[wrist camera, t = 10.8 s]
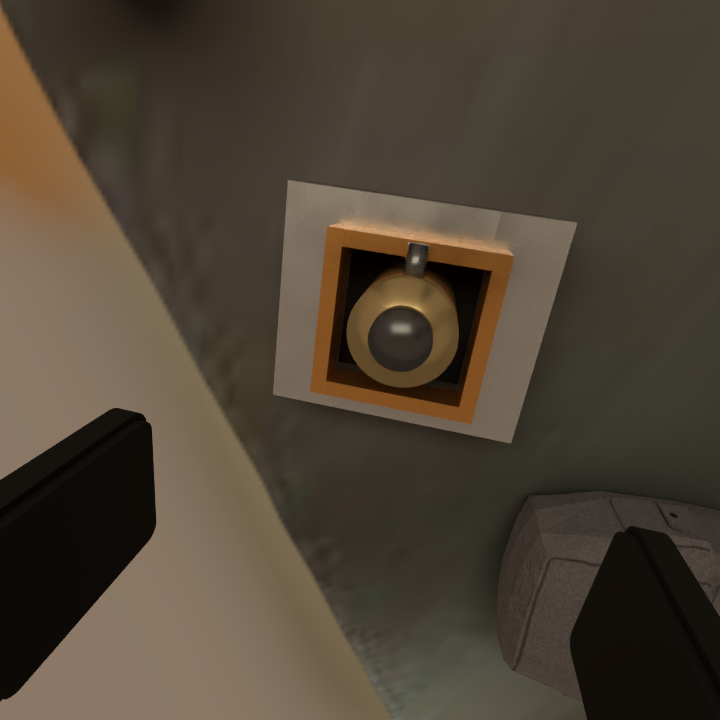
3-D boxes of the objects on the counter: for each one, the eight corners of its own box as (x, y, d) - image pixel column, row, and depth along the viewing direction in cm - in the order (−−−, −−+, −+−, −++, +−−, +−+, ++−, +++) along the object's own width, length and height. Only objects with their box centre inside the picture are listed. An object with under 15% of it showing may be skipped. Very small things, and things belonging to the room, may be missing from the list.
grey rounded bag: (478, 614, 36) (758, 674, 33) (488, 731, 28) (853, 821, 25) (520, 450, 30) (859, 506, 27) (545, 539, 22) (1021, 629, 20)
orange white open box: (557, 218, 25) (589, 225, 19) (502, 411, 29) (516, 463, 24) (310, 181, 26) (274, 179, 21) (293, 370, 31) (260, 409, 25)
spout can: (445, 342, 28) (446, 404, 20) (367, 328, 29) (336, 382, 21) (468, 238, 26) (479, 260, 18) (382, 224, 26) (355, 240, 18)
